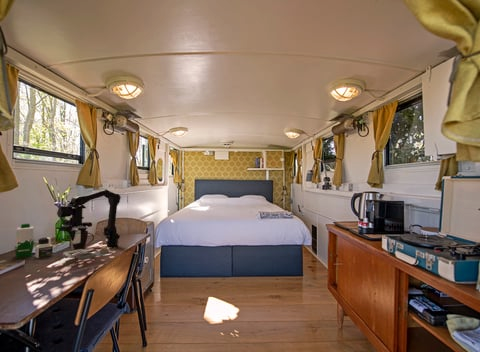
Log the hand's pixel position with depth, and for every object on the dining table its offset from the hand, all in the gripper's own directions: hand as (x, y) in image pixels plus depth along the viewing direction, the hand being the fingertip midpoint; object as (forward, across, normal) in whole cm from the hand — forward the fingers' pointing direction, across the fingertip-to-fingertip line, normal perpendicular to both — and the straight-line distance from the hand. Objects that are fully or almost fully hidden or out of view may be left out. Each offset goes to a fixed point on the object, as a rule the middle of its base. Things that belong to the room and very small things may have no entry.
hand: (76, 239), depth 154 cm
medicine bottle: (+11, +8, -16) cm, 21 cm away
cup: (+11, -15, -11) cm, 21 cm away
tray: (+10, 0, 0) cm, 10 cm away
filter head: (+10, -3, +12) cm, 16 cm away
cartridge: (+2, 0, 0) cm, 2 cm away
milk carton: (+10, +11, -30) cm, 33 cm away
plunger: (+9, -9, +14) cm, 19 cm away
